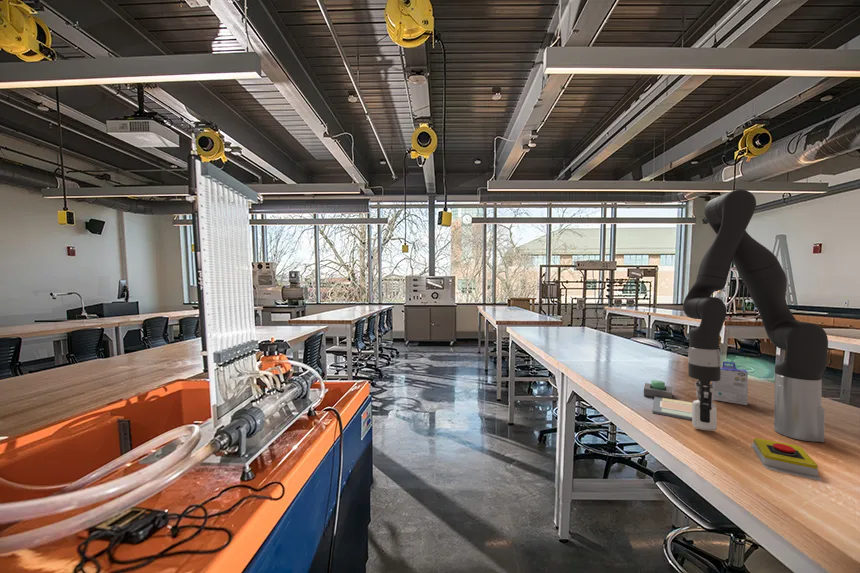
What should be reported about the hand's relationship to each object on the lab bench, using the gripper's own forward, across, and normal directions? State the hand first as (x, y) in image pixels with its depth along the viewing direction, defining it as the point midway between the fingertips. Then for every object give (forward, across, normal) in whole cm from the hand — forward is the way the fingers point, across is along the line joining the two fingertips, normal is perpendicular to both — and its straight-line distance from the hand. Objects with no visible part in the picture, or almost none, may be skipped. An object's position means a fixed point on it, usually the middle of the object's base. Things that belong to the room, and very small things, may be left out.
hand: (704, 419), depth 100 cm
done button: (+1, +30, +12) cm, 32 cm away
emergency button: (+4, -11, -14) cm, 18 cm away
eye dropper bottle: (+3, 0, 0) cm, 3 cm away
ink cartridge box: (+4, +38, -10) cm, 39 cm away
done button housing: (+3, +30, +12) cm, 33 cm away
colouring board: (+3, +16, +6) cm, 17 cm away
